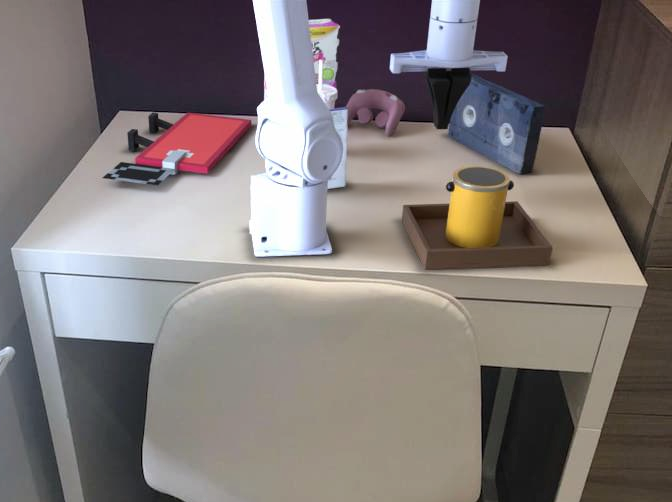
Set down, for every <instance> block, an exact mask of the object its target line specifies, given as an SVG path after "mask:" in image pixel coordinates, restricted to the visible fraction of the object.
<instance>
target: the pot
mask: <svg viewBox="0 0 672 502" xmlns="http://www.w3.org/2000/svg"><path fill="white" fill-rule="evenodd" d="M514 186H515V183H514V181H513V180H511V177H510V176H509V175H508V174H507V173H506V172H504V171H502V170H500V169H497V168H494V167H489V166H482V165H481V166H480V165H470V166H469V165H468V166H463V167H459V168H458V169H456V170H455V171H454V172H453V174H452V181H449V182H447V183H446V185H445V189H446V191H447V192H449V193H450V198H449V203H450V204H449V212H448V219H447V226H446V234H445V235H446V238H447V239H448V240H449V241H450V242H451V243H453V244H455V245H457V246H460V247H464V248H482V247H492V246H494V245H496V244H497V243H498V241H499V236H500V231H501V225H502V219H503V214H504V208H505V203H506V202H507V197H508V191H512V190H513V189H514Z"/></svg>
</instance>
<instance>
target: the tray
mask: <svg viewBox="0 0 672 502" xmlns="http://www.w3.org/2000/svg"><path fill="white" fill-rule="evenodd" d="M449 204H450V202H449V203H423V204H422V203H421V204H403V205H402V213H401V214H402V215H401V223H402V225H403V227H404V229H405V232H406V233H407V236H408V237H409V238H408V239H409V240H410V242H411V244H412V246H413V248H414V250H415V252H416V254H417V256H418V259H419V260H420V263H421V265H422V267H423V269H424V270H449V269H450V270H451V269H452V270H453V269H476V268H477V269H478V268H504V267H507V268H508V267H527V266H529V267H530V266H531V267H532V266H533V267H534V266H549V265H550V264H551V263H550V262H551V258H552V254H553V248H554V246H553V245H552V244H551V243H550V242H549V240H548V238H546V236H545V235H544V234H543V232H542V230H541V229H540V228H539V227H538V226H537V225H536V223H535V221H533V220H532V218H531V217H530V215H529V214H528V213H527V212H526V210H525V209H524V208H523V206H522V205H521V203H519V201H517V200H516V201H515V200H514V201H506V203H505V208H504V214H503V219H502V225H501V231H500V236H499V241H498V243H497V244H496V245H494V246H492V247H482V248H464V247H460V246H457V245H455V244H453V243H451V242H450V241H449V240H448V239H447V238H446V235H445V234H446V226H447V219H448V212H449Z"/></svg>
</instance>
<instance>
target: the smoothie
mask: <svg viewBox="0 0 672 502" xmlns="http://www.w3.org/2000/svg"><path fill="white" fill-rule="evenodd" d="M322 80H323V60H319V84H316V85H317V92H318V94H319V96H320V97H321V99H322V100H323V101H324V103H325V104H326V106H327V107H328V109H334V105H335V106H336V101H337V99H338V94H339V93H338V88H337V87H336V88H334V87H332V86H329V85H324V84H322ZM335 100H336V101H335Z"/></svg>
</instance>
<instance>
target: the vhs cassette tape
mask: <svg viewBox="0 0 672 502" xmlns="http://www.w3.org/2000/svg"><path fill="white" fill-rule="evenodd" d="M469 74H470V75H471V76H472V78H471V82H470V85H469V86H468V87H467V89H466V90H465V92H464V93H463V95H462V96H461V98H460V100H459V101H458V103H457V105H456V107H455V109H454V112H453V114H452V116H451V119H450V122H449V125H448V129H447V130H448V131H447V137H449V138H451V139H453V140H455V141H456V142H458V143H460V144H462V145H464V146H465V147H468V148H469V149H471V150H473V151H475V152H476V153H478V154H480V155H483V156H484V157H485V158H488V159H490V160H491V161H494V162H496V163H497V164H499V165H501V166H503V167H505V168H507V169H508V170H510V171H512V172H514V173H516V174H518V175H520V174H521V175H523V174H526V173H531V172H533V170H534V166H535V161H536V157H537V153H538V148H539V144H540V143H539V142H540V137H541V131H542V127H543V121H544V117H545V113H546V105H544V104H542V103H539V102H537V101H535V100H533V99H531V98H529V97H526V96H524V95H522V94H520V93H517V92H515V91H513V90H511V89H508V88H506V87H504V86H501V85H498V84H497V83H494V82H493V81H489V80H487V79H484V78H483V77H480V76H479V75H477V74H474V73H472V72H470V73H469Z"/></svg>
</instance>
